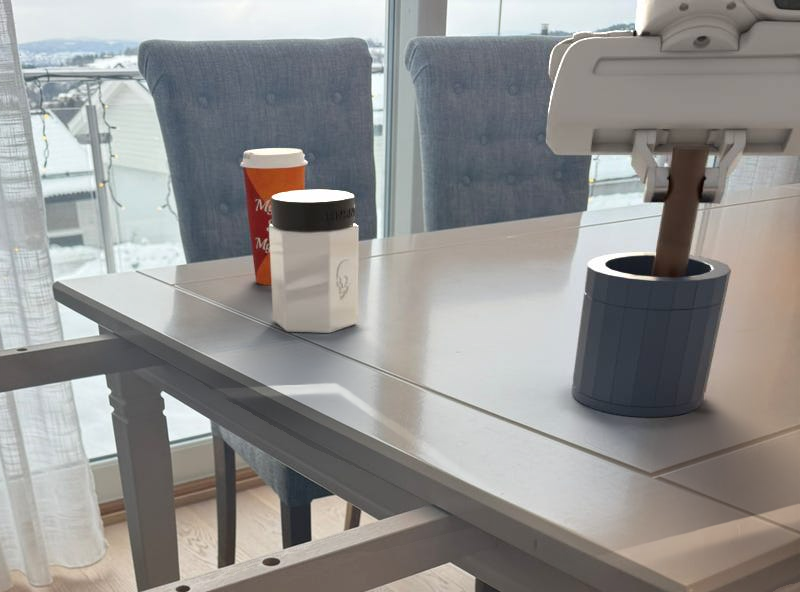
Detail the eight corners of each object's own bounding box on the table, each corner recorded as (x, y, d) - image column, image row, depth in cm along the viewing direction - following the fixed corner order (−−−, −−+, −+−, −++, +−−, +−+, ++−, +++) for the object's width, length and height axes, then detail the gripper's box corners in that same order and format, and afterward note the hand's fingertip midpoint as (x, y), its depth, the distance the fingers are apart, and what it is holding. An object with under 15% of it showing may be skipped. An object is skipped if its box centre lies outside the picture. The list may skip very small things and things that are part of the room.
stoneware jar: (643, 369, 81) (664, 247, 76) (730, 404, 73) (761, 271, 68) (546, 387, 78) (561, 260, 72) (626, 425, 70) (649, 287, 64)
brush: (655, 356, 76) (693, 141, 67) (699, 373, 72) (745, 148, 63) (605, 364, 74) (638, 146, 66) (648, 382, 70) (688, 152, 62)
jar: (317, 339, 91) (314, 205, 85) (257, 325, 96) (250, 198, 89) (373, 319, 97) (374, 193, 90) (314, 308, 101) (311, 186, 95)
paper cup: (260, 290, 109) (253, 156, 101) (238, 277, 115) (230, 150, 107) (321, 283, 111) (319, 151, 104) (296, 270, 117) (292, 145, 109)
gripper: (555, -2, 67) (536, 165, 65) (862, -11, 63) (855, 167, 61) (550, 68, 73) (531, 223, 71) (830, 64, 69) (821, 229, 67)
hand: (683, 197), depth 66 cm, fingers closed on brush, 2 cm apart
